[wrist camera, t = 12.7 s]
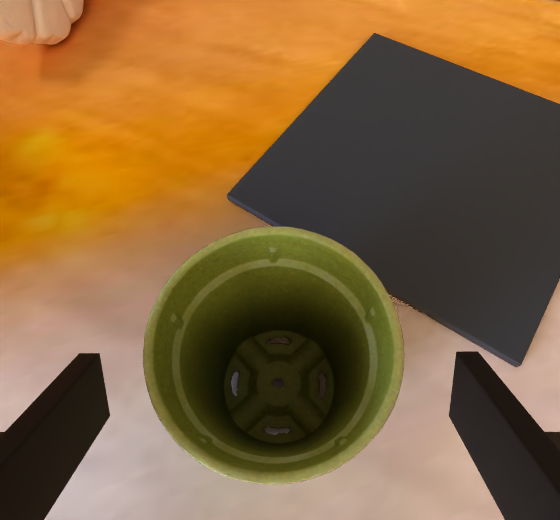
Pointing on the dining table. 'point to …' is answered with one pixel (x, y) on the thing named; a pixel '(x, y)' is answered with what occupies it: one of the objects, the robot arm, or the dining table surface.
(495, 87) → the placemat
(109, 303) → the dining table surface
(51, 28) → the decorative rooster
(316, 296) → the plant pot
